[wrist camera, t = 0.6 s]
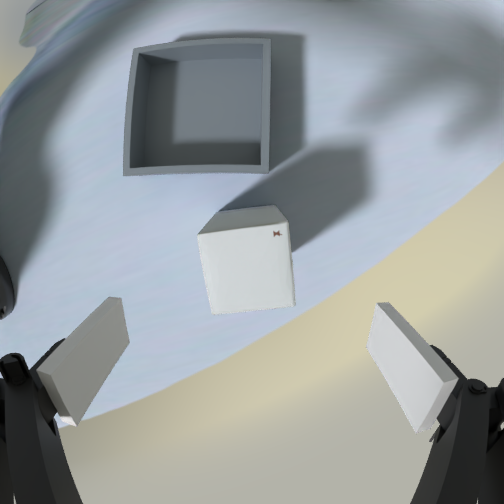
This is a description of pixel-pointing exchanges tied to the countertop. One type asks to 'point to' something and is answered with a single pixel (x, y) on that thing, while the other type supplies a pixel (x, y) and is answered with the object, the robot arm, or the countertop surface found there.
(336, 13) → the countertop surface
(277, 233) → the supplement box
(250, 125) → the grey bin
